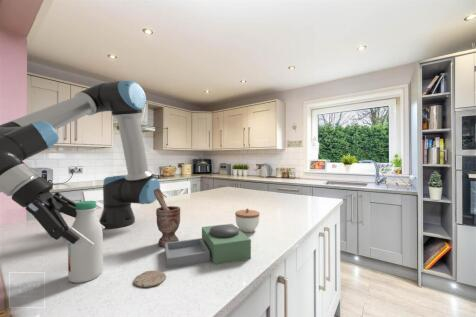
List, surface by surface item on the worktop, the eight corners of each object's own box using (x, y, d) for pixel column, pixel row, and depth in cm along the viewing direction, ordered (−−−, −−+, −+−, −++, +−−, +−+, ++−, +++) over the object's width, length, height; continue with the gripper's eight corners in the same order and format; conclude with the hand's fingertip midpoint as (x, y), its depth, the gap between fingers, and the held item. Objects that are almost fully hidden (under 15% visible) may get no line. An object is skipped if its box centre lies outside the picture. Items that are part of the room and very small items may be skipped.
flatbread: (127, 283, 57) (127, 279, 57) (152, 270, 64) (152, 266, 64) (148, 292, 53) (148, 288, 53) (172, 278, 60) (172, 274, 60)
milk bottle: (109, 269, 64) (109, 199, 64) (88, 284, 56) (88, 205, 56) (84, 268, 64) (84, 198, 64) (60, 283, 57) (60, 204, 57)
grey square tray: (164, 250, 76) (164, 242, 76) (201, 245, 81) (201, 238, 81) (167, 268, 65) (167, 258, 65) (209, 261, 69) (209, 252, 69)
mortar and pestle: (143, 246, 81) (143, 190, 80) (157, 237, 89) (157, 187, 89) (173, 248, 78) (173, 191, 78) (184, 239, 87) (184, 188, 87)
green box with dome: (201, 242, 84) (201, 223, 84) (232, 238, 88) (232, 220, 88) (214, 264, 67) (214, 240, 67) (250, 258, 71) (250, 235, 71)
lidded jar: (252, 235, 92) (252, 213, 92) (230, 231, 97) (230, 209, 97) (263, 228, 101) (263, 208, 101) (243, 224, 106) (243, 205, 106)
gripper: (36, 190, 66) (95, 234, 72) (-27, 208, 43) (68, 272, 48) (58, 172, 68) (114, 216, 74) (9, 180, 45) (96, 244, 50)
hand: (96, 239), depth 61 cm, fingers open, 13 cm apart
